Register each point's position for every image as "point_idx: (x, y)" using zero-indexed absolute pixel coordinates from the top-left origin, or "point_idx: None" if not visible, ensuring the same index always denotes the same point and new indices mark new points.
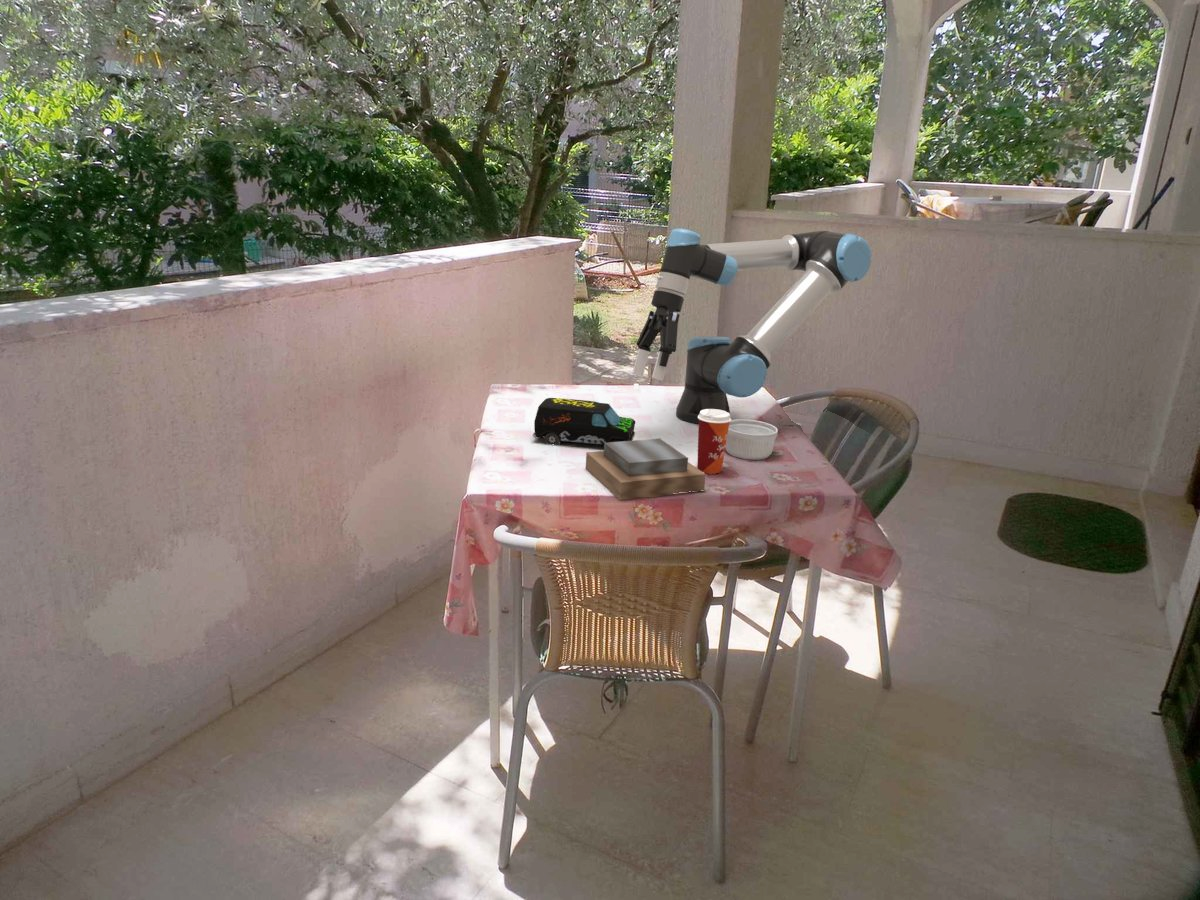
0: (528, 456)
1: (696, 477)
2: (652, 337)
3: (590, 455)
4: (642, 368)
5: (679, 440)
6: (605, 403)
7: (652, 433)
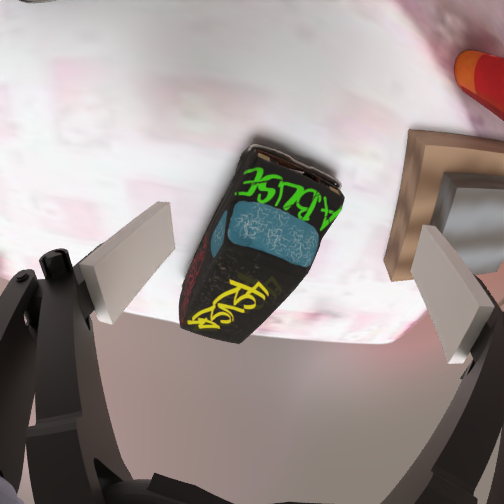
0: (306, 307)
1: None
2: (87, 373)
3: (406, 279)
4: (153, 227)
5: (265, 19)
6: (225, 253)
7: (194, 72)
